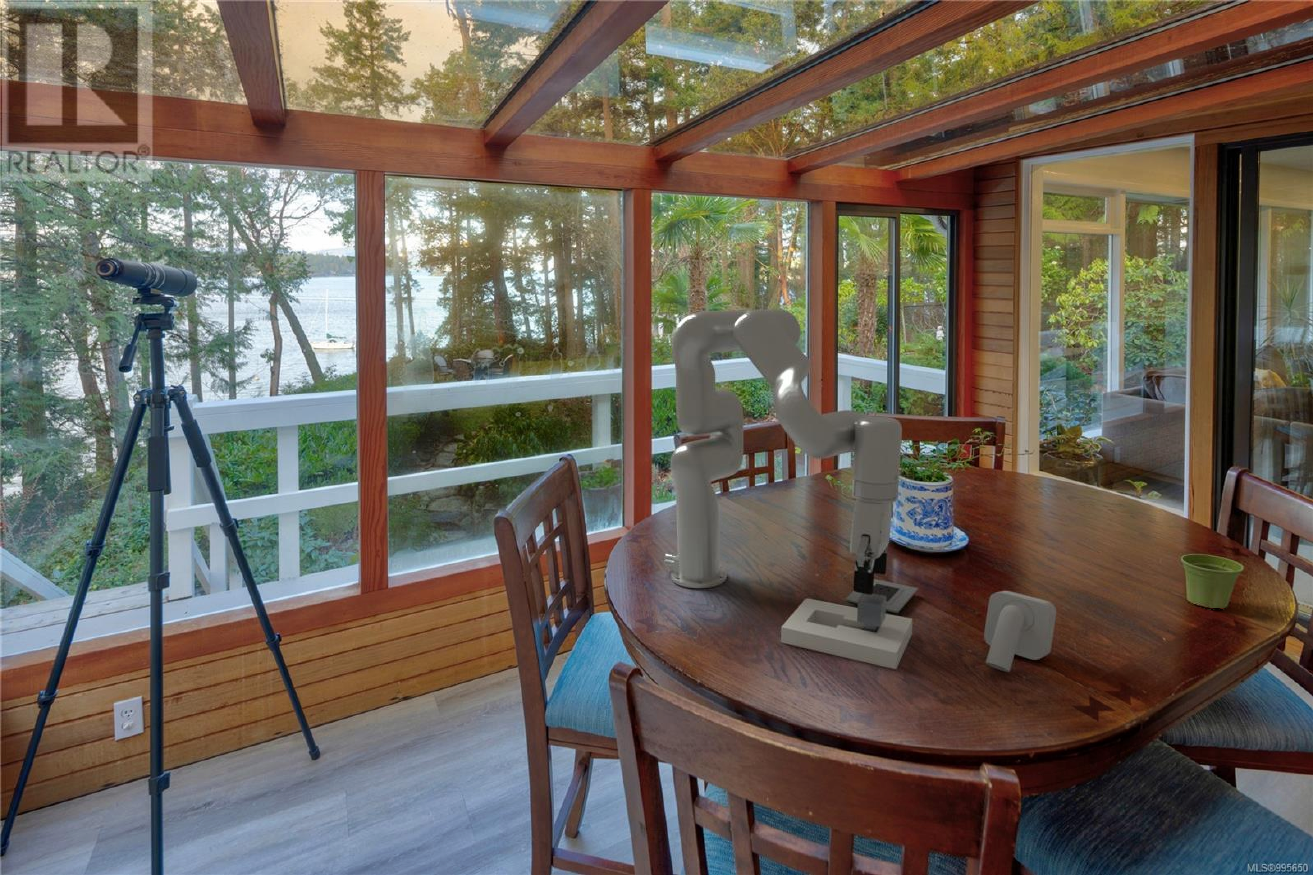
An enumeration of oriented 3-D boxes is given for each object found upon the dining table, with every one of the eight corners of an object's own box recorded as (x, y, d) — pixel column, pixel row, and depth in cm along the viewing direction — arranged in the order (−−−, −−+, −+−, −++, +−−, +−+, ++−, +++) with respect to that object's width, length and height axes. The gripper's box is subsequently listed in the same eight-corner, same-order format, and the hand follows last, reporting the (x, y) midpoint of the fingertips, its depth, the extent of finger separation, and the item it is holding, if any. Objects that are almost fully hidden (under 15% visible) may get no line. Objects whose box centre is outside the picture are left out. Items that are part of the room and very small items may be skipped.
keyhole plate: (781, 642, 120) (781, 627, 120) (806, 612, 132) (806, 598, 131) (896, 669, 110) (896, 652, 109) (911, 634, 122) (912, 618, 121)
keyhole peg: (855, 646, 118) (856, 600, 116) (861, 635, 122) (862, 591, 120) (880, 651, 116) (882, 605, 114) (886, 641, 120) (887, 595, 118)
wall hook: (963, 662, 110) (974, 593, 110) (988, 652, 119) (998, 588, 118) (1025, 684, 103) (1036, 610, 103) (1047, 671, 112) (1058, 603, 112)
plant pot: (1232, 619, 124) (1238, 575, 122) (1170, 603, 131) (1175, 562, 129) (1243, 604, 129) (1248, 562, 128) (1183, 590, 137) (1187, 550, 135)
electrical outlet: (867, 586, 144) (868, 576, 144) (917, 597, 138) (918, 586, 137) (844, 608, 134) (844, 597, 134) (897, 621, 128) (897, 610, 127)
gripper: (865, 475, 123) (860, 562, 126) (839, 498, 108) (835, 596, 112) (907, 480, 119) (902, 569, 122) (886, 505, 105) (880, 606, 108)
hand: (870, 582), depth 117 cm, fingers open, 9 cm apart
